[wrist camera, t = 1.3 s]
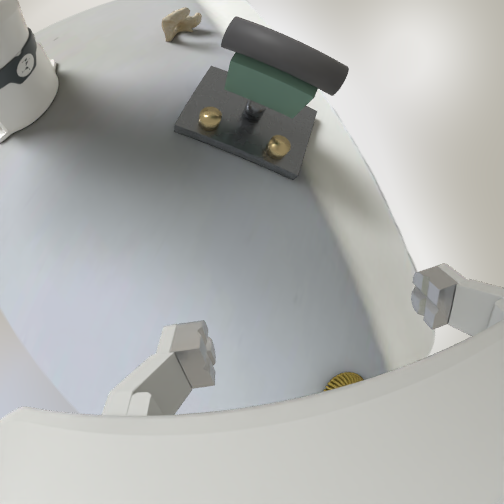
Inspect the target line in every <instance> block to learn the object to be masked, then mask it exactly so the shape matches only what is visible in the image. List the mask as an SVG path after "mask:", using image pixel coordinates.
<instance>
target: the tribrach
mask: <svg viewBox="0 0 504 504" xmlns="http://www.w3.org/2000/svg"><path fill="white" fill-rule="evenodd" d="M227 74H228V72H227V71H224V70H222V69H219V68H216V67H213V66H211V67H210V68H209V70H208V71H207V73H206V74H205V76H204V77H203V79H202V81H201V82H200V84H199V85H198V87H197V88H196V90H195V92H194V93H193V95H192V96H191V98H190V100H189V101H188V103H187V105H186V106H185V108H184V110H183V111H182V113H181V115H180V116H179V118H178V120H177V122H176V123H175V128H174V131H175V132H177V133H180V134H183V135H186V136H188V137H191V138H194V139H197V140H199V141H202V142H204V143H207V144H210V145H212V146H215V147H217V148H220V149H222V150H225V151H227V152H230V153H232V154H235V155H237V156H240V157H242V158H244V159H247V160H249V161H251V162H254V163H256V164H258V165H261V166H263V167H265V168H268V169H270V170H272V171H274V172H277V173H279V174H281V175H283V176H285V177H288V178H290V179H292V180H294V179H295V178H296V177H297V176H298V174H299V171H300V168H301V164H302V161H303V158H304V154H305V151H306V147H307V144H308V141H309V137H310V134H311V130H312V127H313V124H314V120H315V117H316V113H317V111H315V110H313V109H311V108H310V107H308V106H305V107H304V108H303V109H302V110H301V111H300V112H299V113H298V114H297V115H296V116H295V117H294V118H293V119H292V118H290V117H288V116H286V115H284V114H281V113H279V112H277V111H275V110H273V109H270V108H268V107H266V106H264V105H261V104H259V103H257V102H254V101H252V100H250V99H247V98H245V97H242V96H240V95H237V94H235V93H232V92H229V91H227V90H224V88H225V83H226V79H227Z"/></svg>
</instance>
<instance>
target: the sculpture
mask: <svg viewBox="0 0 504 504" xmlns="http://www.w3.org/2000/svg"><path fill="white" fill-rule="evenodd" d="M363 380H364V379H363V378H362V377H361V376H359V375H358V374H355V373H351V372H345V373H341V374H339V375H337V376H336V377H334V378H333V379H331V380H330V382H328V385H329V386H330V387H329V386H326V388H327V389H324V391H328V390H332V389H335V388H339V387H343V386H346V385H349V384H353V383H356V382H359V381H363ZM347 381H348V382H347Z"/></svg>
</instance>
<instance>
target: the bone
mask: <svg viewBox="0 0 504 504" xmlns="http://www.w3.org/2000/svg"><path fill="white" fill-rule="evenodd" d="M189 13H190V10H189V9H188V8H187V7H184V8H182V9H178V10H176V11H173V12H172V13H171V14H169V15H167V16H166V17H165V18H163V20H162V28H163V31H164V33H165V36H166V41H167V42H169V41H172V39H173V38H174V36H175V35H176V34H177V33H178V32H181V31H188V32H193V31H192V28H193V27H196V26H197V25H199V23H200V22H201V17H202V16H201V14H200V13H196V14H195V15H194V16H189Z"/></svg>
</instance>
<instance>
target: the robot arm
mask: <svg viewBox="0 0 504 504" xmlns="http://www.w3.org/2000/svg"><path fill="white" fill-rule="evenodd" d="M55 70H56V62H55V60H53V59H50V60H49V58H48V56H47V54H46V52H45V51H44V49H43V47H42V45H41V44H40V43H39V42H38V43H37V42H36V41H35V37H34V34H33V33H32V31H31V29H29V28H28V27H27V25H26V23H25V20H24V17H23V14H22V11H21V8H20V5H19V2H18V0H0V142H2V141H4V140H5V139H6V138H7V137H8V136H10V135H11V134H12V133H14V132H16V131H18V130H21V129H23V128H25V127H27V126H28V125H30V124H31V123H33V122H34V121H35V120H36V119H38V118H39V117H40V116H41V115H42V114H43V113H44V112H45V111H46V109H47V108H48V107H49V106H50V104H51V103H52V101H53V99H54V98H55V95H56V93H57V90H58V85H59V82H58V77H57V75H56V73H55ZM413 283H414V285H415V288H414V289H413V291H412V297H411V300H412V305H413V307H414V310H415V311H416V312H417V313H418V314H420V315H423V316H424V321H425V322H426V324H427V325H428V326H429V327H430V328H431V329H435V328H438V327H441V326H443V325H446V324H448V325H450V326H452V327H454V328H456V329H458V330H460V331H462V332H464V333H467V334H468V335H471V336H472V337H470V338H468V339H466V340H464V341H462V342H460V343H457V344H455V345H453V346H451V347H449V348H447V349H445V350H442V351H440V352H438V353H436V354H433V355H431V356H428V357H426V358H424V359H421V360H419V361H416V362H414V363H411V364H408V365H406V366H403V367H401V368H398V369H395V370H392V371H390V372H387V373H384V374H381V375H378V376H375V377H372V378H369V379H366V380H363V381H359V382H356V383H353V384H349V385H346V386H343V387H339V388H335V389H332V390H328V391H324V392H320V393H316V394H312V395H308V396H304V397H299V398H294V399H290V400H285V401H280V402H275V403H269V404H264V405H258V406H252V407H245V408H238V409H231V410H223V411H214V412H204V413H193V414H179V415H174V414H175V413H176V412H177V410H178V409H179V407H180V406H181V405H182V403H183V402H184V400H185V399H186V398H187V396H188V395H189V393H190V392H191V391H192V388H200V387H207V386H213V385H215V370H214V367H213V365H214V364H215V363H216V356H215V349H214V345H213V342H212V339H211V338H210V337H208V328H207V325H206V322H205V321H204V320H202V321H195V322H188V323H180V324H173V325H167V326H164V327H163V330H162V333H161V336H160V340H159V343H158V347H157V351H156V354H154V355H151V356H150V357H149V358H148V359H146V360H145V361H144V362H143V363H142V364H141V365H140V366H139V367H137V368H136V369H135V370H134V371H133V372H132V373H131V374H129V375H128V376H127V377H126V378H125V379H124V380H123V381H122V382H120V383H119V384H118V385H117V386H116V387H115V388H114V389H112V390H111V391H110V392H109V395H108V397H107V400H106V403H105V406H104V409H103V412H102V415H91V414H78V413H67V412H58V411H50V410H43V409H37V408H31V407H19V408H17V409H16V410H14V411H12V412H10V413H9V414H7V415H6V416H5V417H3V418H2V419H0V504H504V288H503V287H499V286H496V285H492V284H488V283H483V282H480V281H476V280H472V279H469V280H467V279H466V278H465V277H463V276H462V275H461V274H460V273H458V272H457V271H456V270H454V269H453V268H452V267H450V266H449V265H448V264H445V263H443V264H440V265H438V266H435V267H432V268H429V269H426V270H423V271H420V272H416V273H415V275H414V277H413Z"/></svg>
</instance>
